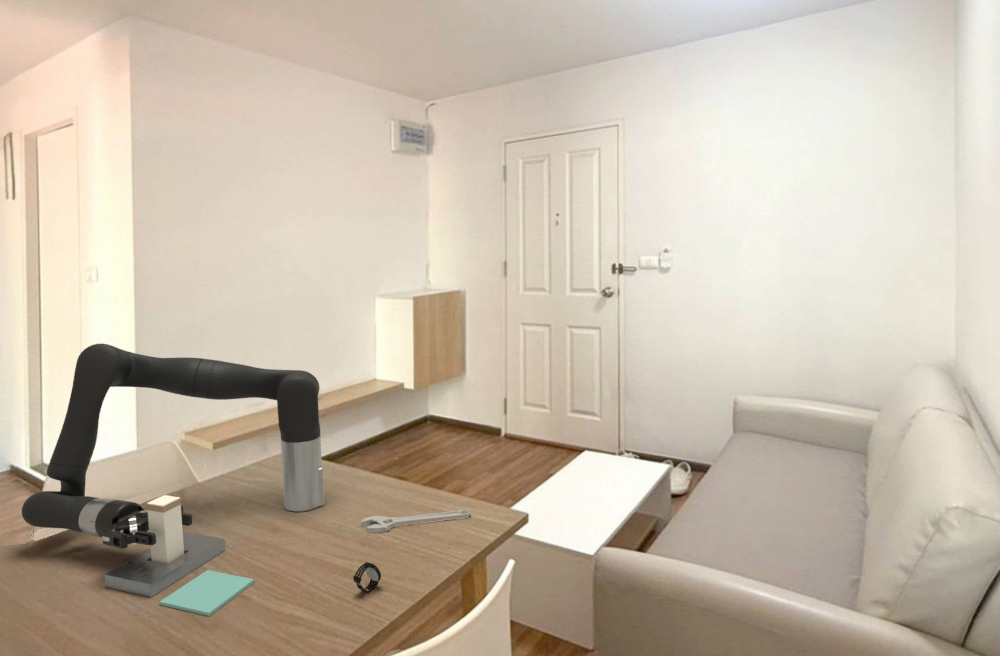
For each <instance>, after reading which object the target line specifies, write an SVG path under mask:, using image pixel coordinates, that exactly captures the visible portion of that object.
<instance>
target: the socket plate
mask: <svg viewBox="0 0 1000 656" xmlns="http://www.w3.org/2000/svg"><path fill="white" fill-rule="evenodd" d="M225 540H226V539H225V538H222V537H217V536H212V535H211V536H210V535H205V534H202V533H201V534H200V533H194V532H189V531H188V532H187V531H183V543H184V555H182V556H181V557H179V558H177V559H176V560H174V561H172V562H171V563H169V564H162V563H157V562H152V559H151V548H150V549H149V550H147V551H144V552H142V553H141V554H139V555H138V556H136V557H133V558H132V559H130V560H128V561H127V562H125V563H123V564H120V565H119V566H117V567H115V568H114V569H112V570H110V571H108V572H107V573H105V574H104V583H105V588H109V589H112V590H116V591H117V590H118V591H122V592H126V593H130V594H134V595H135V594H136V595H138V596H144V597H147V598H152V597H154V596H156V595H157V594H159V593H160V592H162V591H163V590H165V589H167V588H168V587H169V586H171V585H173V584H174V583H176V582H178V581H179V580H181V579H182V578H183V577H185V576H187V575H189V574H190V573H192V572H193V571H194V570H196V569H198V568H199V567H201V566H202V565H204V564H205V563H207V562H209V561H210V560H212V559H213V558H215V557H217V556H218V555H220V554H221V553H222V552H225V551H226V545H225V544H226V543H225V542H226V541H225Z"/></svg>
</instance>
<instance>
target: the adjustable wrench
mask: <svg viewBox="0 0 1000 656" xmlns="http://www.w3.org/2000/svg"><path fill="white" fill-rule="evenodd" d="M463 513H468V514H463ZM468 516H470V517H471V511H470V510H469V509H460V510H459V509H458V510H453V511H451V510H450V511H444V512H436V513H426V514H417V515H410V516H409V515H408V516H401V517H399V516H398V517H391V516H380V515H372V516H368V517H365V518H363V519H362V520H360V527H361V528H364V527H366V533H367V532H368V534H378V533H377V532H382V533H385V532H386V531H387V532H389V531H388V530H391V529H390V528H392V527H394V526H396V525H403V524H412V523H420V522H429V521H437V520H443V519H451V518H462V517H468ZM370 524H374V525H370ZM366 525H368V526H366ZM363 526H364V527H363ZM392 529H393V528H392ZM384 531H385V532H384ZM387 532H386V533H387Z"/></svg>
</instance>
